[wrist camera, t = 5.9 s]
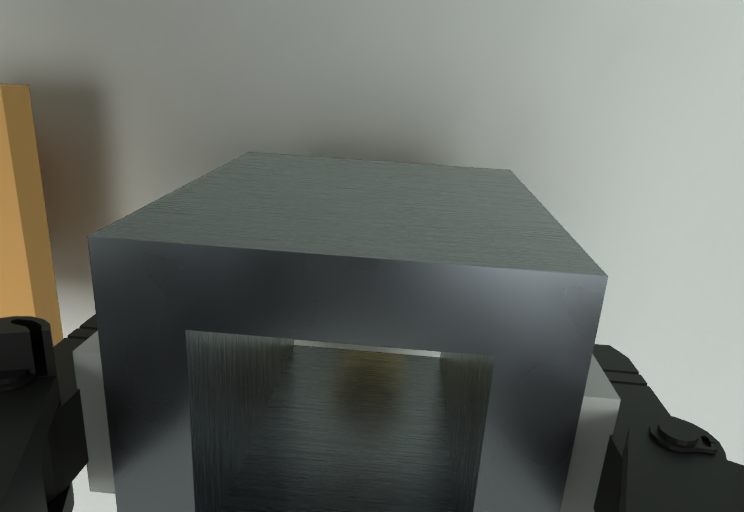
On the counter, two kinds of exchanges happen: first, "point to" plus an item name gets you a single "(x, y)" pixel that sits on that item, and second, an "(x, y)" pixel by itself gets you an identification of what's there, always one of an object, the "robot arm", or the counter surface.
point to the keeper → (24, 217)
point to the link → (343, 341)
